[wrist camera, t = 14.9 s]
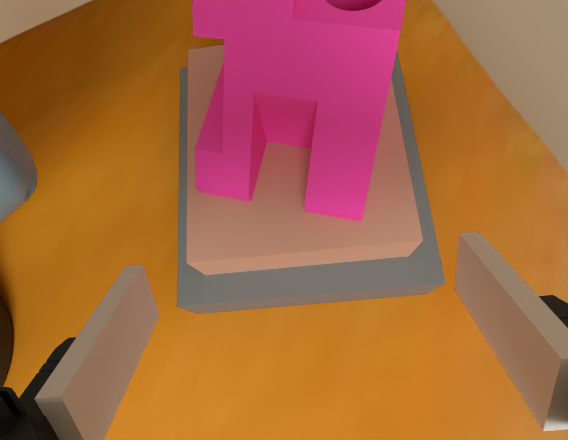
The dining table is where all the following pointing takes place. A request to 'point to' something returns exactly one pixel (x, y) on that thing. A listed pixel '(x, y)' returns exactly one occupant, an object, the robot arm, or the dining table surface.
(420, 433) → the dining table surface
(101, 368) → the robot arm
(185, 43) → the dining table surface
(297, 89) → the bracket
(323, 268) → the two-tone base plate
